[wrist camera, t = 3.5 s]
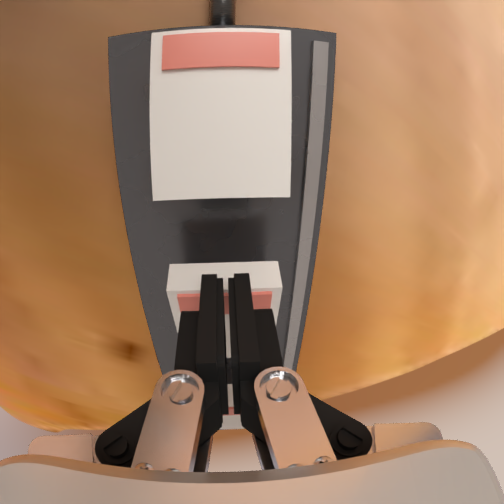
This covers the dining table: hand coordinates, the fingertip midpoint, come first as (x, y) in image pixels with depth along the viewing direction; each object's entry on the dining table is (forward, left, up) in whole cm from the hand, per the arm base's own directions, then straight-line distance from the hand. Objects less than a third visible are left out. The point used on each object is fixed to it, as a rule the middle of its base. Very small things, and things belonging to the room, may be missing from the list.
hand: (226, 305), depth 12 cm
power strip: (0, 0, -8) cm, 8 cm away
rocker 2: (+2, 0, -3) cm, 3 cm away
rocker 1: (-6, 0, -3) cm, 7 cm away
